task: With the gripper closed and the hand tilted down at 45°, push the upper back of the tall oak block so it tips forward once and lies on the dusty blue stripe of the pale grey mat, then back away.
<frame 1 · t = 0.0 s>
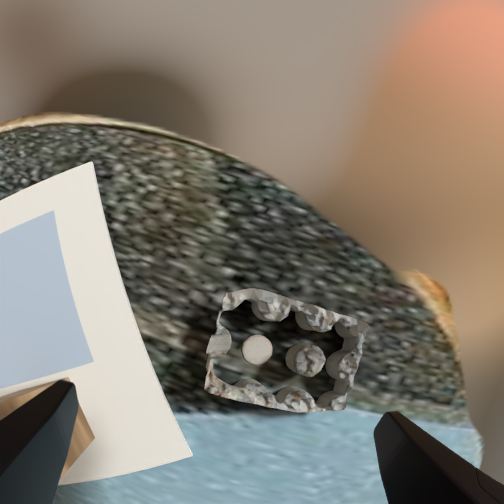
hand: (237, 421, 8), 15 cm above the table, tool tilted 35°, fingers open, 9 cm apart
egg carton: (277, 351, 24), on the table
oak block: (55, 414, 18), resting on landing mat
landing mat: (30, 339, 20), on the table
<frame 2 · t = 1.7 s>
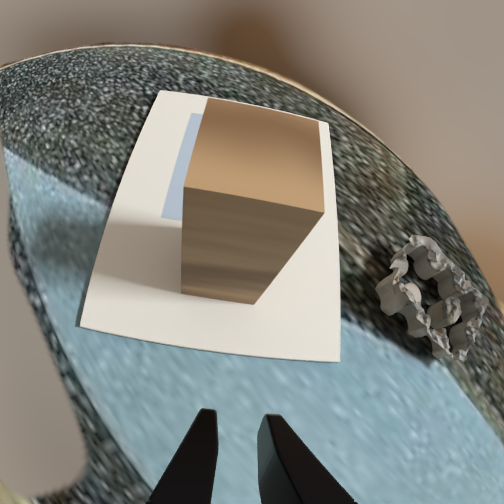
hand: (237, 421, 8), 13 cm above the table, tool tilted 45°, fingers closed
egg carton: (421, 306, 26), on the table
oak block: (222, 265, 23), resting on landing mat
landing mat: (230, 199, 26), on the table
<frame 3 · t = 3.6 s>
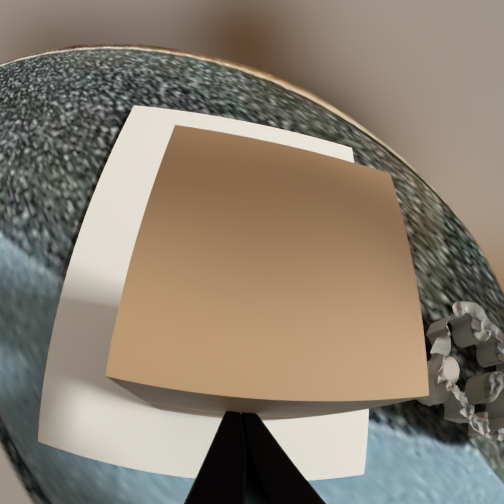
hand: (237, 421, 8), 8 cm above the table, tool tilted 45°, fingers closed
egg carton: (458, 380, 19), on the table
oak block: (215, 368, 15), point 1 cm above the table, touching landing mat
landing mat: (225, 266, 19), on the table
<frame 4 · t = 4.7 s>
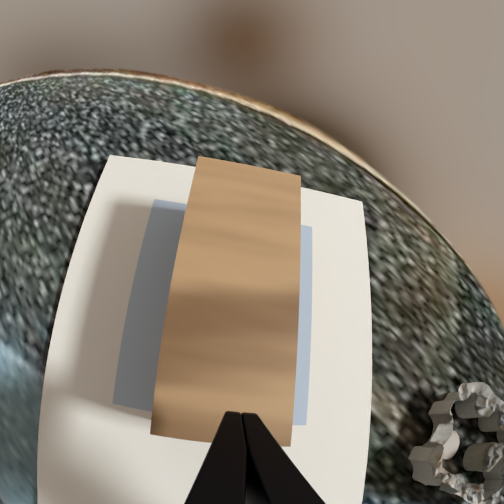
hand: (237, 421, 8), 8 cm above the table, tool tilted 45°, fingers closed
egg carton: (457, 449, 16), on the table
oak block: (214, 435, 12), point 3 cm above the table, tilted 90°, touching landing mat
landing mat: (215, 364, 16), on the table
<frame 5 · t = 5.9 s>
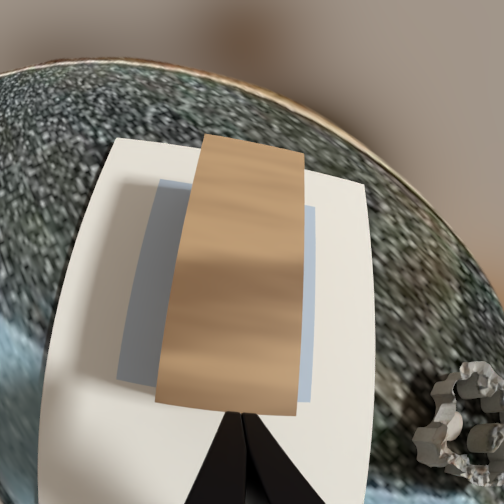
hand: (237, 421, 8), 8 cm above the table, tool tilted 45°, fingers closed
egg carton: (461, 430, 17), on the table
oak block: (219, 407, 12), point 3 cm above the table, tilted 90°, touching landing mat
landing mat: (220, 339, 16), on the table
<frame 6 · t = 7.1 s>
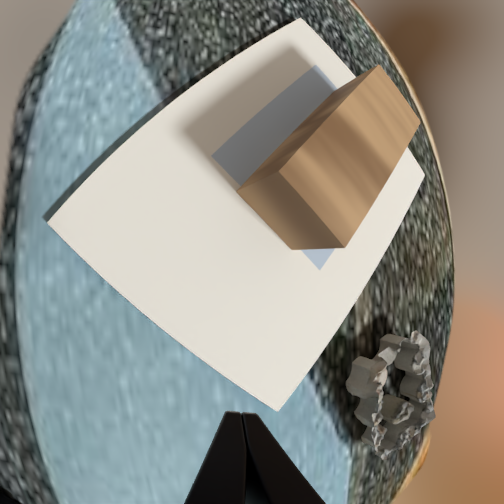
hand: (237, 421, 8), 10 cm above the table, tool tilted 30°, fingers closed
egg carton: (379, 390, 25), on the table
oak block: (286, 217, 17), point 3 cm above the table, tilted 90°, touching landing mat
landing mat: (292, 185, 21), on the table
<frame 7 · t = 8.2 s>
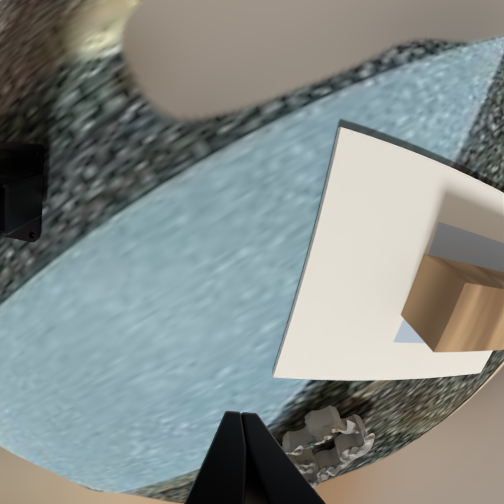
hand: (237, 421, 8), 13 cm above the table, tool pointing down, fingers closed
egg carton: (310, 438, 28), on the table
oak block: (429, 300, 19), point 3 cm above the table, tilted 90°, touching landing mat
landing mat: (440, 287, 22), on the table
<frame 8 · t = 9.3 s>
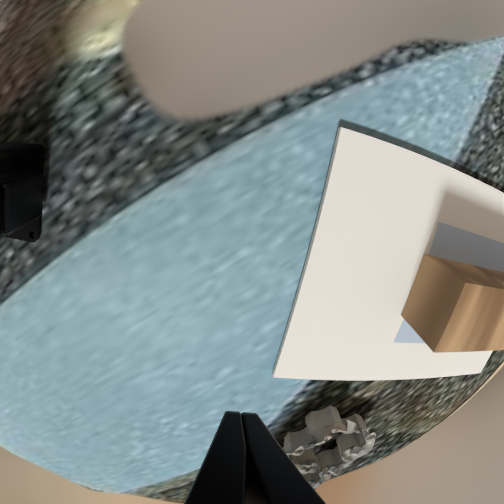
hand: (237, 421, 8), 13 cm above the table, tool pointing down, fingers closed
egg carton: (312, 438, 28), on the table
oak block: (429, 301, 19), point 3 cm above the table, tilted 90°, touching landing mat
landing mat: (440, 287, 22), on the table
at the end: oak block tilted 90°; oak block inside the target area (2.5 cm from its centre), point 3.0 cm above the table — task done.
